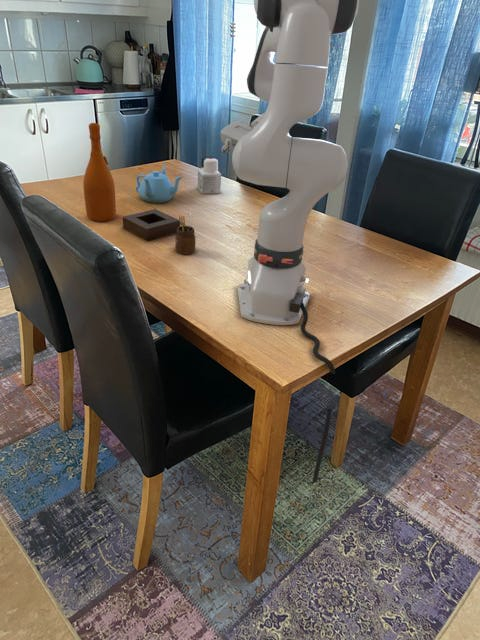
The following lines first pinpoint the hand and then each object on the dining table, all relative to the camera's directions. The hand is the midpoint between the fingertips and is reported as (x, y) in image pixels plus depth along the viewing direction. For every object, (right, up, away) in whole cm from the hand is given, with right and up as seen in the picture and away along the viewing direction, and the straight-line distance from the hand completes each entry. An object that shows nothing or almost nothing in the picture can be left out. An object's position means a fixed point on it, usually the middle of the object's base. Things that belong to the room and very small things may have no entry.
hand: (236, 156), depth 141 cm
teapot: (-30, -2, +44) cm, 53 cm away
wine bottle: (-46, -13, +23) cm, 53 cm away
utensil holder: (-15, -27, +5) cm, 31 cm away
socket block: (-28, -18, +17) cm, 37 cm away
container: (-12, +5, +57) cm, 58 cm away
